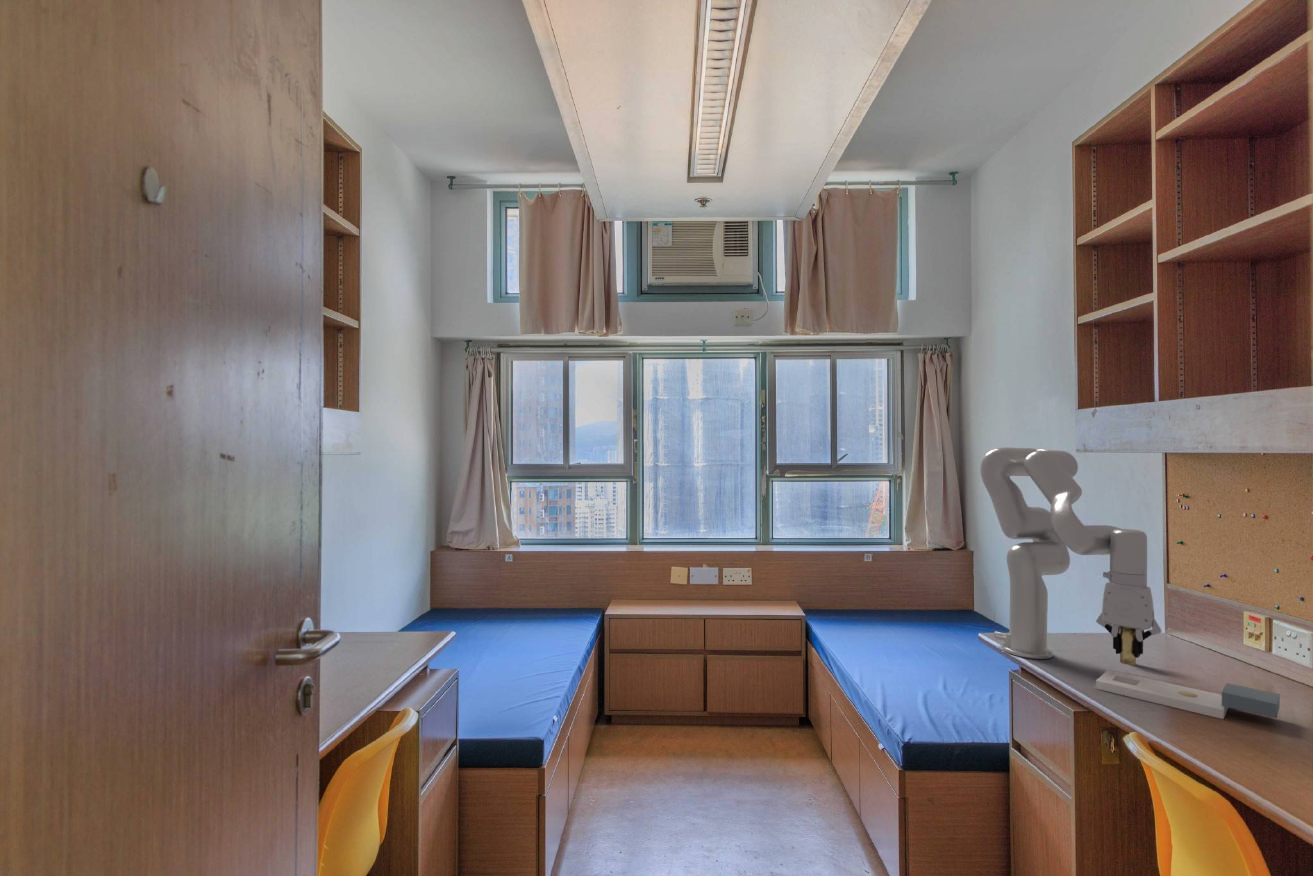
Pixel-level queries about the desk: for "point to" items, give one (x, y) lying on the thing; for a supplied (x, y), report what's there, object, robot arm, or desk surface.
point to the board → (1163, 693)
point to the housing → (1251, 700)
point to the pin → (1127, 645)
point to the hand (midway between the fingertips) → (1127, 653)
